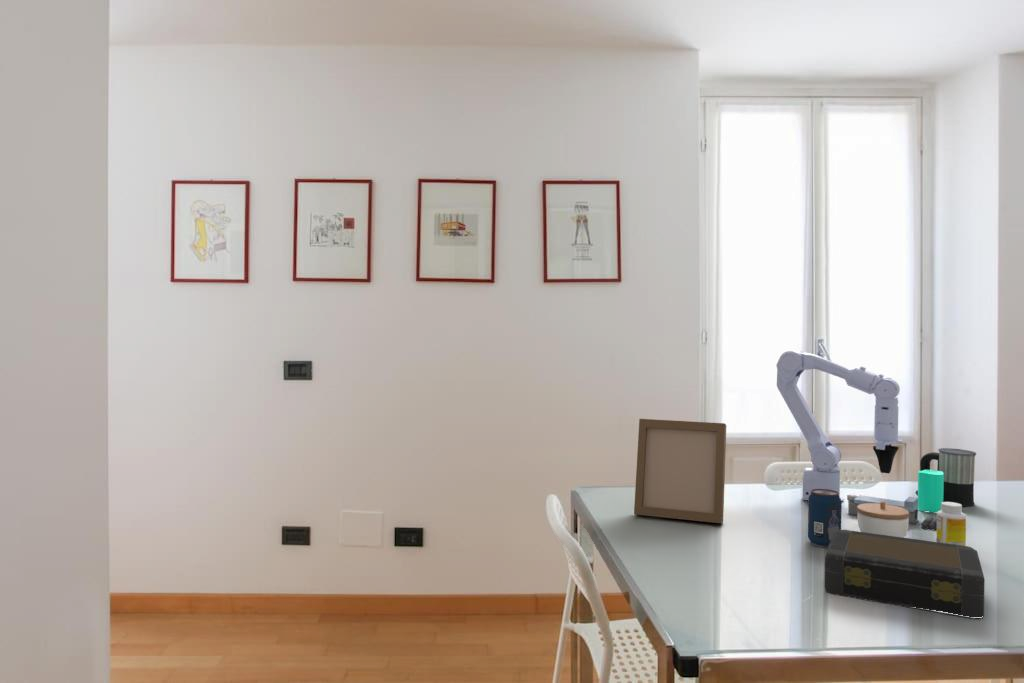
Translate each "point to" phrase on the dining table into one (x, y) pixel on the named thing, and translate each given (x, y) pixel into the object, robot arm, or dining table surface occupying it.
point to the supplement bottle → (951, 524)
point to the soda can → (823, 516)
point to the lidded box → (886, 501)
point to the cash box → (905, 572)
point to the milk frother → (954, 473)
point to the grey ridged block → (930, 522)
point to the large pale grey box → (853, 506)
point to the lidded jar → (883, 519)
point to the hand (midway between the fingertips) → (885, 472)
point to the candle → (930, 490)
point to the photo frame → (681, 470)
